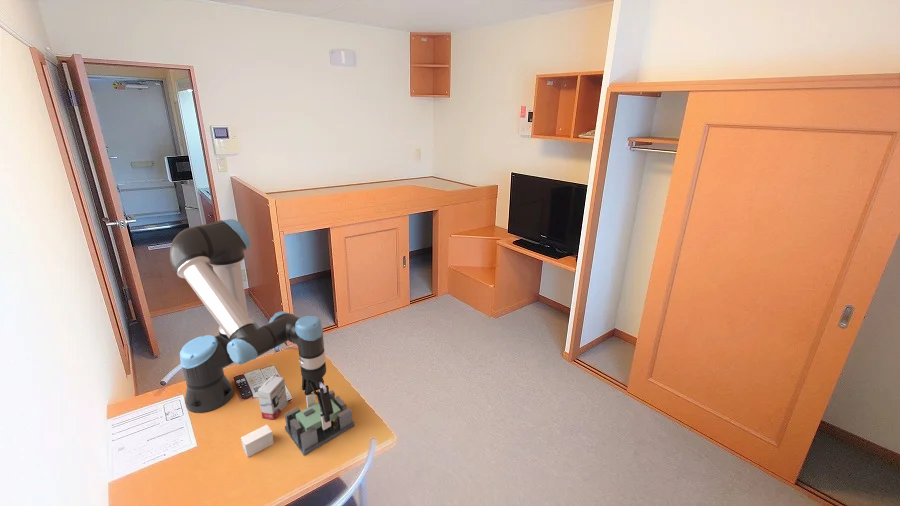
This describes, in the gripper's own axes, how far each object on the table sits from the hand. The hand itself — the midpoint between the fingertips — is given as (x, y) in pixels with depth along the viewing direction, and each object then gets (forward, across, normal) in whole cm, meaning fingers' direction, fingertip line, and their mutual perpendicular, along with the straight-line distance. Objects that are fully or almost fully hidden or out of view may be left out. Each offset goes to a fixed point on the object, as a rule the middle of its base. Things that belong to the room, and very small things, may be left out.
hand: (319, 418), depth 134 cm
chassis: (+4, 0, 0) cm, 4 cm away
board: (0, 0, 0) cm, 0 cm away
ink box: (+4, -18, -8) cm, 20 cm away
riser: (+4, -6, -18) cm, 19 cm away
